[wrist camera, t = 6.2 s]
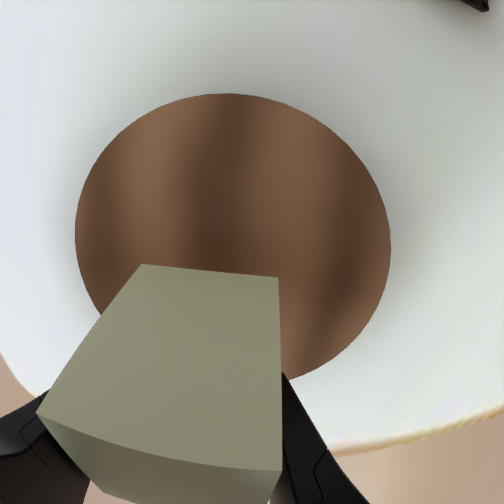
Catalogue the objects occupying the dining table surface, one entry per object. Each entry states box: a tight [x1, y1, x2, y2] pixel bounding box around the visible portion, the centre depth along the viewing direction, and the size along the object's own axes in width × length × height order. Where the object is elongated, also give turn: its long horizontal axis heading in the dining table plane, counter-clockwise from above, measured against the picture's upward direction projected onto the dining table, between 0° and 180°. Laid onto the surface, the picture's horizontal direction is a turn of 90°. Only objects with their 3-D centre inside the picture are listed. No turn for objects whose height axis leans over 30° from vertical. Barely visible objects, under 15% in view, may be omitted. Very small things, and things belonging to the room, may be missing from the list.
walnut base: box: [75, 94, 391, 380], centre depth 17 cm, size 18×18×3 cm
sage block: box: [36, 264, 282, 504], centre depth 8 cm, size 5×5×7 cm
